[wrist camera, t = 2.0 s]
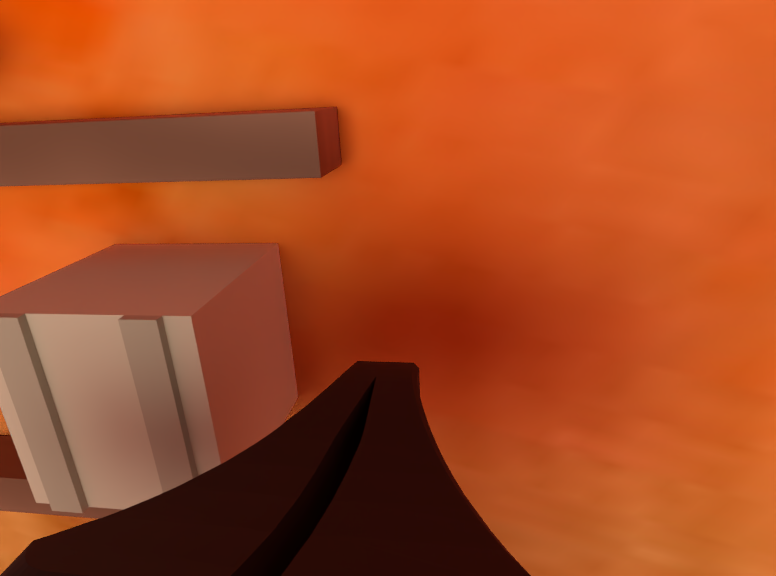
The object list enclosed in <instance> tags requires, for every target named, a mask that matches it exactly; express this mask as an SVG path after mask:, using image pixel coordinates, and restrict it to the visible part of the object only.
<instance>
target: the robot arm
mask: <svg viewBox="0 0 776 576" xmlns="http://www.w3.org/2000/svg"><path fill="white" fill-rule="evenodd" d="M0 576H531V575H530V574H529V573H528V572H527V571H526V570H525V569H524V568H523V567H522V566H521V565H520V564H519V563H518V562H517V561H516V560H515V558H514V557H513V556H512V555H511V554H510V553H509V552H508V551H507V549H506V548H505V547H504V546H503V545H502V544H501V542H500V541H499V540H498V539H497V538H496V536H495V535H494V534H493V533H492V532H491V531H490V529H489V528H488V526H487V525H486V524H485V522H484V521H483V520H482V518H481V517H480V516H479V514H478V513H477V511H476V510H475V509H474V507H473V506H472V505H471V503H470V502H469V500H468V499H467V498H466V496H465V495H464V493H463V492H462V490H461V488H460V487H459V485H458V483H457V482H456V480H455V479H454V477H453V475H452V473H451V472H450V470H449V468H448V466H447V464H446V463H445V461H444V459H443V457H442V455H441V453H440V450H439V448H438V446H437V444H436V442H435V439H434V437H433V435H432V432H431V430H430V427H429V425H428V422H427V419H426V416H425V413H424V409H423V406H422V403H421V399H420V383H419V368H418V367H417V366H416V365H415V364H414V363H401V362H368V361H357V362H356V363H355V364H354V365H352V366H351V367H350V368H349V369H348V370H347V371H346V372H345V373H343V374H342V375H341V376H340V377H339V378H338V379H337V380H336V381H335V382H333V383H332V384H331V385H330V386H329V387H328V388H327V389H326V390H324V391H323V392H322V393H321V394H320V395H319V396H317V397H316V398H315V399H314V400H313V401H312V402H310V403H309V404H308V405H307V406H306V407H304V408H303V409H302V410H300V411H299V412H298V413H297V414H295V415H294V416H293V417H291V418H290V419H289V420H287V421H286V422H285V423H283V424H282V425H281V426H280V427H278V428H277V429H276V430H274V431H273V432H271V433H270V434H269V435H267V436H266V437H264V438H263V439H261V440H260V441H258V442H257V443H255V444H254V445H252V446H250V447H249V448H247V449H246V450H244V451H242V452H241V453H239V454H237V455H236V456H234V457H233V458H231V459H229V460H227V461H226V462H224V463H222V464H220V465H218V466H216V467H214V468H212V469H210V470H208V471H207V472H205V473H203V474H201V475H199V476H197V477H195V478H193V479H191V480H189V481H187V482H185V483H183V484H181V485H179V486H177V487H175V488H173V489H171V490H168V491H166V492H164V493H162V494H160V495H157V496H155V497H153V498H151V499H148V500H146V501H143V502H141V503H138V504H136V505H134V506H131V507H129V508H126V509H124V510H121V511H119V512H116V513H113V514H111V515H108V516H105V517H103V518H100V519H97V520H94V521H91V522H88V523H85V524H82V525H79V526H76V527H73V528H70V529H67V530H65V531H62V532H59V533H56V534H53V535H50V536H47V537H43V538H40V539H37V540H34V541H33V542H32V543H31V544H30V545H29V546H28V547H27V548H26V549H25V550H24V551H23V552H22V553H21V554H20V555H19V556H18V557H17V558H16V559H15V560H14V561H13V563H12V564H11V565H10V566H9V567H8V568H7V569H6V570H5V571H4V572H3V573H2V574H1V575H0Z"/></svg>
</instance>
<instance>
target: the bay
mask: <svg viewBox="0 0 776 576" xmlns="http://www.w3.org/2000/svg"><path fill="white" fill-rule="evenodd" d="M340 165H341V153H340V141H339V128H338V116H337V107H324V108H303V109H282V110H262V111H241V112H220V113H199V114H179V115H158V116H137V117H116V118H96V119H75V120H54V121H34V122H13V123H0V186H29V185H66V184H103V183H140V182H177V181H214V180H251V179H288V178H321V177H323V176H324V175H326V174H327V173H329V172H330V171H332V170H334V169H335V168H337V167H338V166H340ZM121 510H122V509H110V508H97V507H88V508H87V509H86V510H85V511H84V512H83V513H73V512H60V511H52V509H51V506H50V504H46V503H36V501H35V498H34V496H33V493H32V490H31V488H30V485H29V482H28V480H27V477H26V474H25V472H24V469H23V466H22V464H21V461H20V458H19V456H18V453H17V450H16V448H15V445H14V442H13V440H12V437H11V436H1V435H0V511H13V512H25V513H37V514H49V515H61V516H74V517H86V518H98V519H100V518H103V517H105V516H108V515H111V514H113V513H116V512H119V511H121Z"/></svg>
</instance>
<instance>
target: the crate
mask: <svg viewBox="0 0 776 576" xmlns="http://www.w3.org/2000/svg"><path fill="white" fill-rule="evenodd" d="M297 398H298V392H297V384H296V377H295V369H294V361H293V354H292V346H291V339H290V331H289V323H288V316H287V308H286V300H285V293H284V285H283V277H282V270H281V262H280V254H279V247H278V243H221V244H114V245H112V246H110V247H108V248H106V249H103V250H101V251H99V252H97V253H95V254H92V255H90V256H88V257H86V258H84V259H81V260H79V261H77V262H75V263H73V264H71V265H68V266H66V267H64V268H62V269H60V270H57V271H55V272H53V273H51V274H49V275H46V276H44V277H42V278H40V279H38V280H35V281H33V282H31V283H29V284H27V285H25V286H22V287H20V288H18V289H16V290H14V291H11V292H9V293H7V294H5V295H3V296H0V408H1V410H2V413H3V416H4V418H5V421H6V424H7V426H8V429H9V432H10V434H11V437H12V440H13V442H14V445H15V448H16V450H17V453H18V456H19V458H20V461H21V464H22V466H23V469H24V472H25V474H26V477H27V480H28V482H29V485H30V488H31V490H32V493H33V496H34V498H35V501H36V503H46V504H50V506H51V509H52V511H60V512H73V513H83V512H84V511H85V510H86V509H87V508H88V507H97V508H110V509H122V510H124V509H126V508H129V507H131V506H134V505H136V504H138V503H141V502H143V501H146V500H148V499H151V498H153V497H155V496H157V495H160V494H162V493H164V492H166V491H168V490H171V489H173V488H175V487H177V486H179V485H181V484H183V483H185V482H187V481H189V480H191V479H193V478H195V477H197V476H199V475H201V474H203V473H205V472H207V471H208V470H210V469H212V468H214V467H216V466H218V465H220V464H222V463H224V462H226V461H227V460H229V459H231V458H233V457H234V456H236V455H237V454H239V453H241V452H242V451H244V450H246V449H247V448H249V447H250V446H252V445H254V444H255V443H257V442H258V441H260V440H261V439H263V438H264V437H266V436H267V435H269V434H270V433H271V432H273V431H274V430H276V429H277V428H278V427H280V426H281V425H282V424H283V423H284V422H285V420H286V418H287V416H288V415H289V413H290V411H291V409H292V407H293V405H294V404H295V402H296V400H297Z"/></svg>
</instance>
